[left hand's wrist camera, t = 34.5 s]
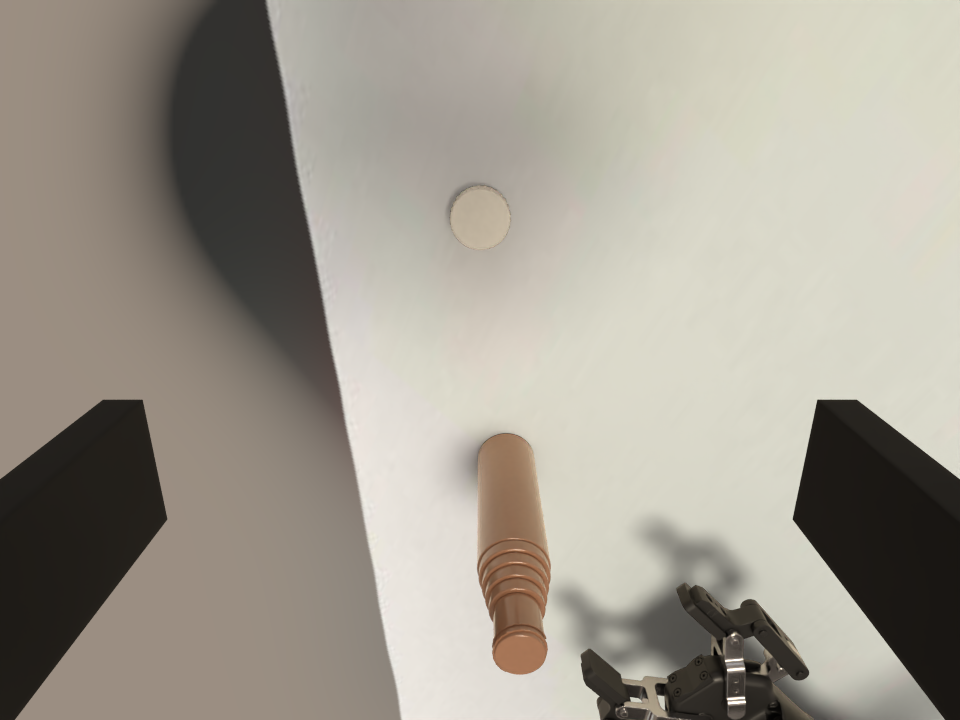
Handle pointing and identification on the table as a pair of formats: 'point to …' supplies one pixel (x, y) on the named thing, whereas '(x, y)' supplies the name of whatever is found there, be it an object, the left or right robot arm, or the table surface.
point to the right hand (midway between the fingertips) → (632, 628)
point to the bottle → (512, 552)
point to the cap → (480, 217)
